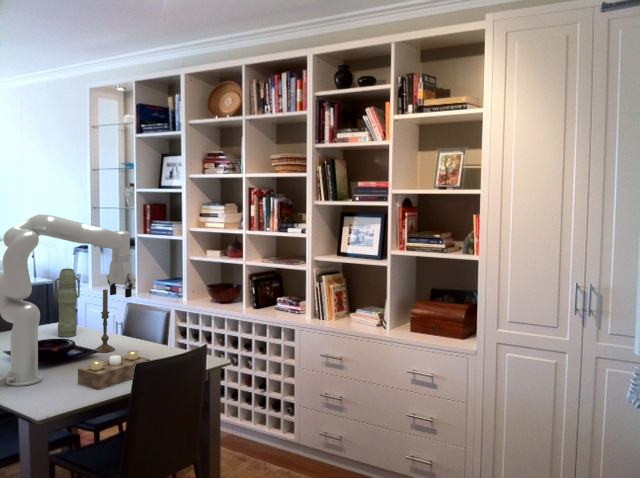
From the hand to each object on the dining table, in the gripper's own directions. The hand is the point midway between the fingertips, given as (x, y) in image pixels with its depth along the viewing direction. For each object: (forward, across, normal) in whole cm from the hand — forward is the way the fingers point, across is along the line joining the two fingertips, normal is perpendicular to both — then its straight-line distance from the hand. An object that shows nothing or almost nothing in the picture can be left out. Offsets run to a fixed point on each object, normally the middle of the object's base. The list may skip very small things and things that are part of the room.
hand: (120, 296), depth 258 cm
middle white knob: (+25, +20, -20) cm, 38 cm away
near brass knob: (+25, +20, -29) cm, 43 cm away
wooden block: (+29, +20, -20) cm, 40 cm away
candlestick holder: (+29, -17, +6) cm, 34 cm away
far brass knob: (+25, +20, -11) cm, 34 cm away
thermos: (+29, -54, +14) cm, 63 cm away
